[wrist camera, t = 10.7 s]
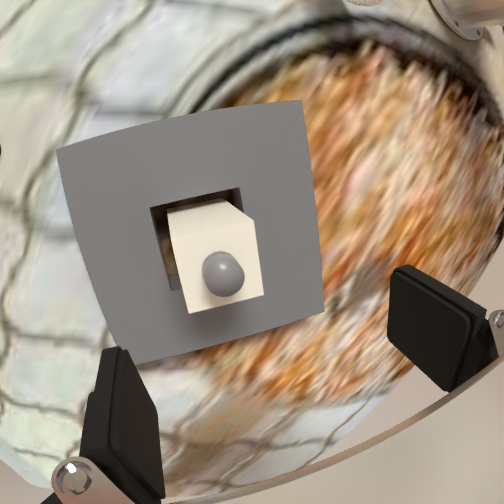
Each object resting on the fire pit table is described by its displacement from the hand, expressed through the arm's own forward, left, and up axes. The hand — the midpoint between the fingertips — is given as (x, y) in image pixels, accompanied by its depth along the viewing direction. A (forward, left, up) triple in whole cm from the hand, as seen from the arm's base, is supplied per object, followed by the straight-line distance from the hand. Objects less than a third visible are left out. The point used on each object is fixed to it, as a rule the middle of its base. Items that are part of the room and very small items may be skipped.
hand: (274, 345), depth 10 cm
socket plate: (0, 0, -17) cm, 17 cm away
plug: (0, 0, -17) cm, 17 cm away
